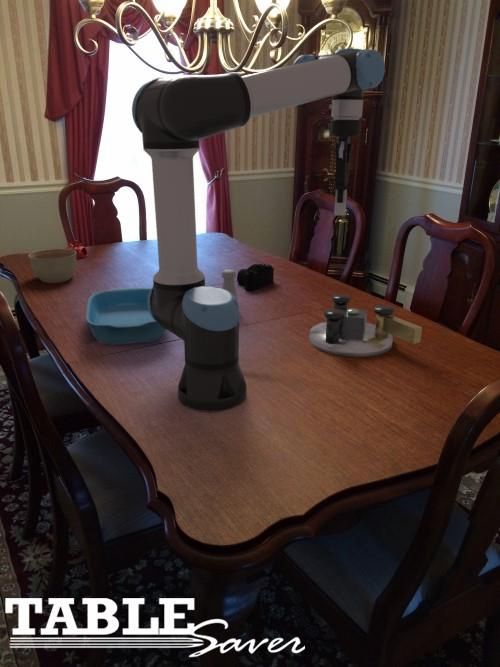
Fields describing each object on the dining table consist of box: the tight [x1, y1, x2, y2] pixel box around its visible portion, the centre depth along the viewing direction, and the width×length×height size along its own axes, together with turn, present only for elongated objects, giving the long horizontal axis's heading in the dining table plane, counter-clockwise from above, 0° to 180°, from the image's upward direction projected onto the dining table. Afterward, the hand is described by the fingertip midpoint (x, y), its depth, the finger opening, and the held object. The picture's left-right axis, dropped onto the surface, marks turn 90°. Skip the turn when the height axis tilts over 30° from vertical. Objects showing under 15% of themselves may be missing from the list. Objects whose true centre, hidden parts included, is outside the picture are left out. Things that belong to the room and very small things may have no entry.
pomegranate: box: [64, 239, 89, 260], centre depth 227 cm, size 10×10×9 cm
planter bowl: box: [28, 248, 77, 284], centre depth 198 cm, size 16×16×11 cm
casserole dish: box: [85, 287, 166, 346], centre depth 157 cm, size 37×22×7 cm, turn 13°
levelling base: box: [309, 293, 394, 358], centre depth 148 cm, size 22×22×10 cm
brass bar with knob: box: [373, 304, 423, 345], centre depth 142 cm, size 15×5×8 cm, turn 32°
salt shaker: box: [221, 268, 239, 301], centre depth 170 cm, size 6×6×13 cm
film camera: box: [236, 263, 275, 292], centre depth 196 cm, size 15×10×9 cm, turn 141°
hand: (339, 214), depth 146 cm, fingers closed
